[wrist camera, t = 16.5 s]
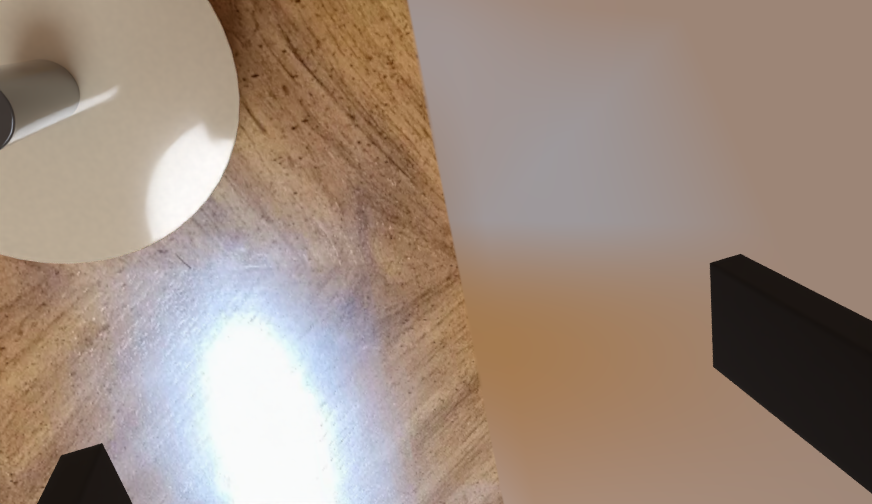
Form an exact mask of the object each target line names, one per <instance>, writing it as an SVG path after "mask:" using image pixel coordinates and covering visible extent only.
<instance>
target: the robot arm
mask: <svg viewBox="0 0 872 504" xmlns="http://www.w3.org/2000/svg"><path fill="white" fill-rule="evenodd" d="M710 278H711V310H712V311H711V312H712V342H713V367H714V368H715V369H717V370H718V371H719V372H720V373H722V374H723V375H724V376H725V377H727V378H728V379H729V380H730V381H732V382H733V383H734V384H735V385H737V386H738V387H739V388H740V389H742V390H743V391H744V392H746V393H747V394H748V395H749V396H750V397H752V398H753V399H754V400H756V401H757V402H758V403H759V404H761V405H762V406H763V407H764V408H766V409H767V410H768V411H769V412H770V413H772V414H773V415H774V416H775V417H777V418H778V419H779V420H780V421H782V422H783V423H784V424H785V425H787V426H788V427H789V428H791V429H792V430H793V431H794V432H795V433H797V434H798V435H799V436H800V437H802V438H803V439H804V440H805V441H807V442H808V443H809V444H811V445H812V446H813V447H814V448H816V449H817V450H818V451H819V452H821V453H822V454H823V455H824V456H826V457H827V458H828V459H829V460H831V461H832V462H833V463H835V464H836V465H837V466H838V467H839V468H841V469H842V470H843V471H844V472H846V473H847V474H848V475H849V476H851V477H852V478H853V479H854V480H856V481H857V482H858V483H859V484H861V485H862V486H863V487H864V488H866V489H867V490H868V491H869V492H871V493H872V321H871V320H869V319H867V318H865V317H863V316H861V315H859V314H857V313H856V312H853V311H852V310H850V309H848V308H846V307H844V306H842V305H840V304H838V303H836V302H834V301H832V300H830V299H828V298H826V297H824V296H822V295H820V294H818V293H816V292H814V291H812V290H810V289H808V288H806V287H804V286H802V285H800V284H798V283H796V282H795V281H793V280H791V279H789V278H787V277H785V276H783V275H781V274H779V273H777V272H775V271H773V270H771V269H769V268H767V267H765V266H763V265H761V264H759V263H757V262H755V261H753V260H751V259H749V258H747V257H745V256H744V255H742V254H739V255H735V256H732V257H729V258H725V259H722V260H719V261H716V262H712V263H710ZM37 504H132V502H131V500H130V498H129V496H128V494H127V492H126V490H125V488H124V486H123V484H122V482H121V480H120V478H119V476H118V474H117V472H116V470H115V468H114V466H113V464H112V462H111V460H110V458H109V456H108V454H107V452H106V450H105V448H104V446H103V444H102V443H101V444H98V445H95V446H91V447H88V448H85V449H81V450H78V451H74V452H71V453H68V454H64V455H61V457H60V459H59V461H58V463H57V465H56V467H55V469H54V471H53V473H52V475H51V477H50V479H49V481H48V483H47V485H46V487H45V489H44V491H43V493H42V495H41V497H40V499H39V501H38V503H37Z"/></svg>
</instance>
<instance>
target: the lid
mask: <svg viewBox="0 0 872 504" xmlns="http://www.w3.org/2000/svg"><path fill="white" fill-rule="evenodd" d="M239 119H240V91H239V82H238V73H237V69H236V65H235V61H234V56H233V52H232V49H231V46H230V44H229V41H228V38H227V36H226V33H225V30H224V28H223V26H222V24H221V22H220V20H219V18H218V16H217V14H216V12H215V10H214V8H213V6H212V4H211V3H210V1H209V0H0V254H1V255H5V256H9V257H13V258H17V259H21V260H28V261H35V262H42V263H61V264H75V263H88V262H97V261H102V260H107V259H112V258H117V257H121V256H124V255H127V254H130V253H133V252H136V251H139V250H141V249H143V248H146V247H148V246H150V245H152V244H154V243H156V242H158V241H160V240H162V239H163V238H165V237H166V236H168V235H170V234H171V233H173V232H174V231H176V230H177V229H179V228H180V227H181V226H182V225H183V224H185V223H186V222H187V221H188V220H189V219H190V218H192V217H193V216H194V215H195V214H196V213H197V212H198V210H199V209H200V208H201V207H202V206H203V205H204V204H205V203H206V202H207V200H208V199H209V198H210V196H211V195H212V193H213V192H214V190H215V189H216V187H217V186H218V184H219V183H220V181H221V179H222V176H223V174H224V172H225V170H226V168H227V166H228V164H229V161H230V158H231V155H232V152H233V149H234V145H235V142H236V137H237V131H238V125H239Z"/></svg>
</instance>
